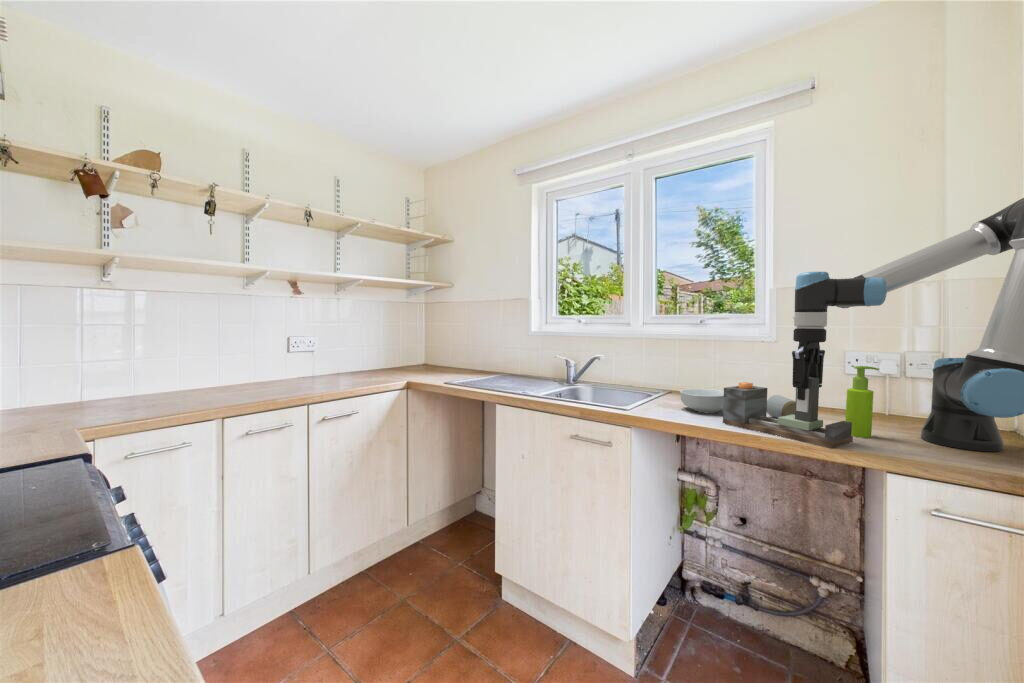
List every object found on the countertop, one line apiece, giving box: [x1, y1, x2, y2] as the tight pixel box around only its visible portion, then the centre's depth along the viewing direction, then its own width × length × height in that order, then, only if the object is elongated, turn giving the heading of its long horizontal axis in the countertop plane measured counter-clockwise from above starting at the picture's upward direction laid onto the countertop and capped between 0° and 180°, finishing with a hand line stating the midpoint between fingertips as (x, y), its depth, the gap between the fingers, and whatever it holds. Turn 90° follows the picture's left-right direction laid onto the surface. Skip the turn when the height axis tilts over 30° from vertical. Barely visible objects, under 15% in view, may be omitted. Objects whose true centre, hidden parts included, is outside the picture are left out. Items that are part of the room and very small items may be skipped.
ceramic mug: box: [767, 394, 796, 419], centre depth 140 cm, size 11×8×8 cm
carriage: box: [777, 377, 824, 431], centre depth 120 cm, size 8×8×14 cm
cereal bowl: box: [679, 388, 724, 414], centre depth 153 cm, size 17×17×7 cm
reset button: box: [738, 381, 754, 390], centre depth 134 cm, size 4×4×3 cm
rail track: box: [722, 385, 854, 449], centre depth 124 cm, size 30×12×12 cm, turn 30°
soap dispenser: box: [845, 365, 880, 439], centre depth 120 cm, size 6×7×20 cm
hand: (806, 410), depth 119 cm, fingers closed on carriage, 4 cm apart
